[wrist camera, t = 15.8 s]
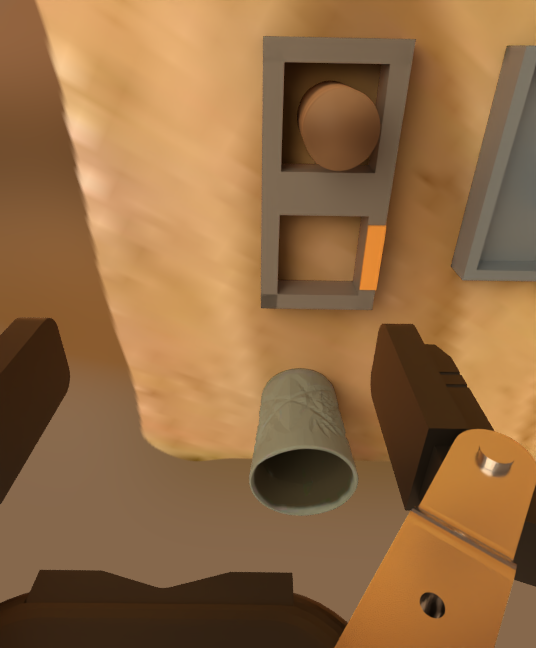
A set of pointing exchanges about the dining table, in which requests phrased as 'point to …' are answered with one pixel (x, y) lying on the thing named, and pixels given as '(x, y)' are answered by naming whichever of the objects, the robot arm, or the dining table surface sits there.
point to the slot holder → (330, 171)
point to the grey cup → (301, 447)
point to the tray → (504, 182)
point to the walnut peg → (338, 125)
